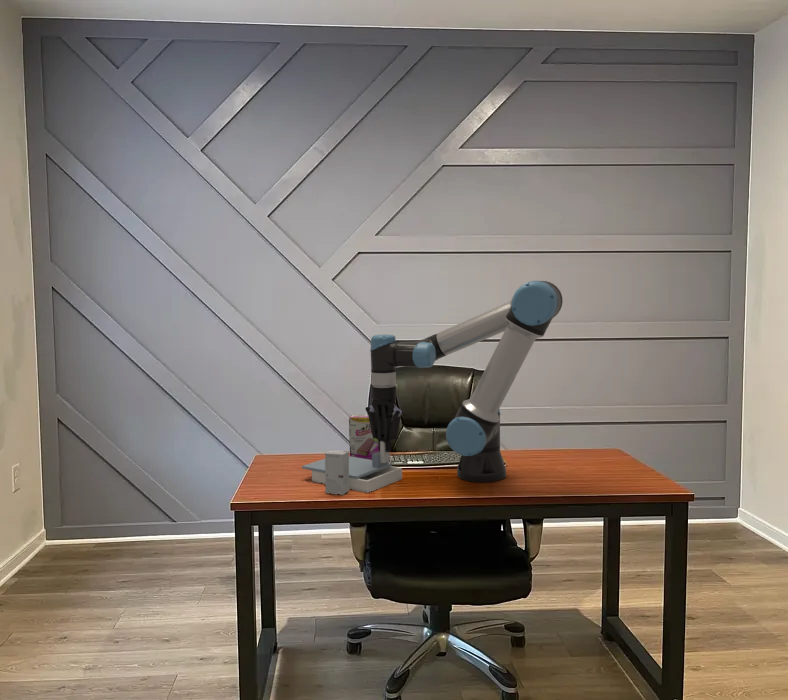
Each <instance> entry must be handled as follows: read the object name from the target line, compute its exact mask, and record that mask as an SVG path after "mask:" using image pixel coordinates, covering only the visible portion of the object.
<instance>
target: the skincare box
mask: <svg viewBox="0 0 788 700" xmlns="http://www.w3.org/2000/svg"><path fill="white" fill-rule="evenodd" d="M349 456H350V450H349V451H347V450H339V449H337V450H336V449H330V450H328V451H326V452H325V453H324V459H325V484H324V486H325V487H324V488H325V490H324V491H325V494H329V493H331V495H337V494H340V495H339V496H343V495H346V494H347V493H348V492H349V491H350V489H349ZM346 492H347V493H346ZM345 493H346V494H345Z"/></svg>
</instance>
